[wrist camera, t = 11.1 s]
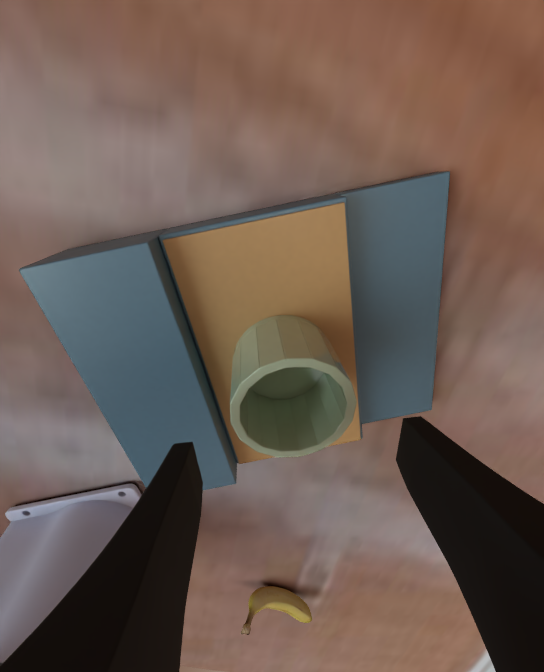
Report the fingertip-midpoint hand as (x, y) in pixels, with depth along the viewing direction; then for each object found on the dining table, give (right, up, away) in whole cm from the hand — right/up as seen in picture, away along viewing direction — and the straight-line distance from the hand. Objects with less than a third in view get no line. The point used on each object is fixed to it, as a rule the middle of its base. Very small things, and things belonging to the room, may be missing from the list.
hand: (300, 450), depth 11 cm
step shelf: (-1, +4, +7) cm, 8 cm away
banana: (0, -21, +20) cm, 30 cm away
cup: (0, +3, +5) cm, 6 cm away
